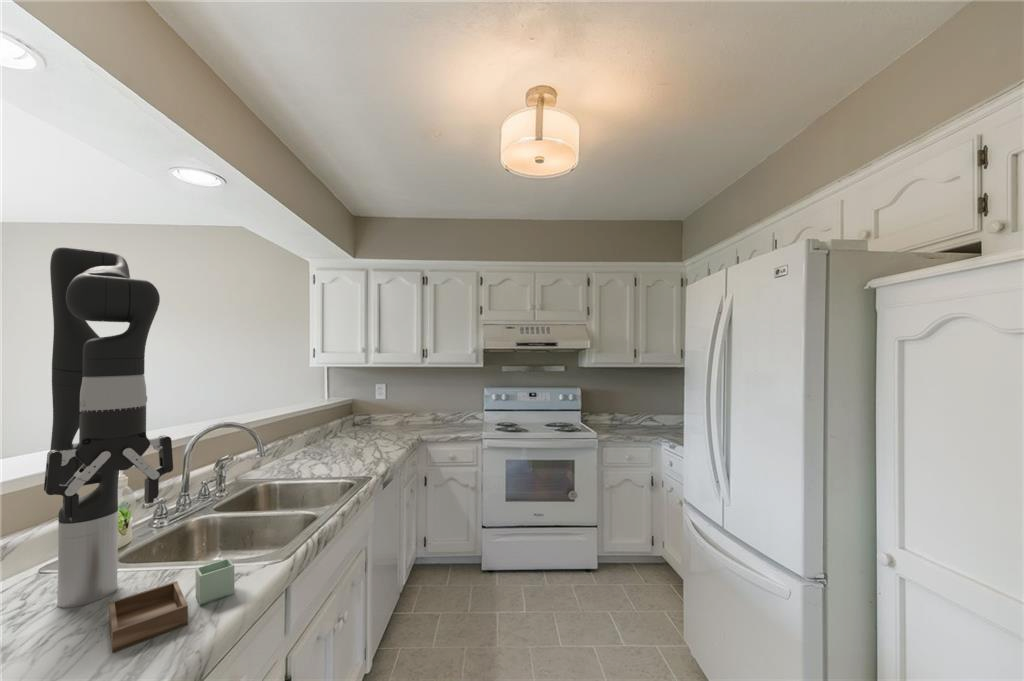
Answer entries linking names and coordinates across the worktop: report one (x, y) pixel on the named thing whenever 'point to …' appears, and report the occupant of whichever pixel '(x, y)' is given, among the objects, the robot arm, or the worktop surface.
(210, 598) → the small crate
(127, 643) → the big crate
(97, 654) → the worktop surface
